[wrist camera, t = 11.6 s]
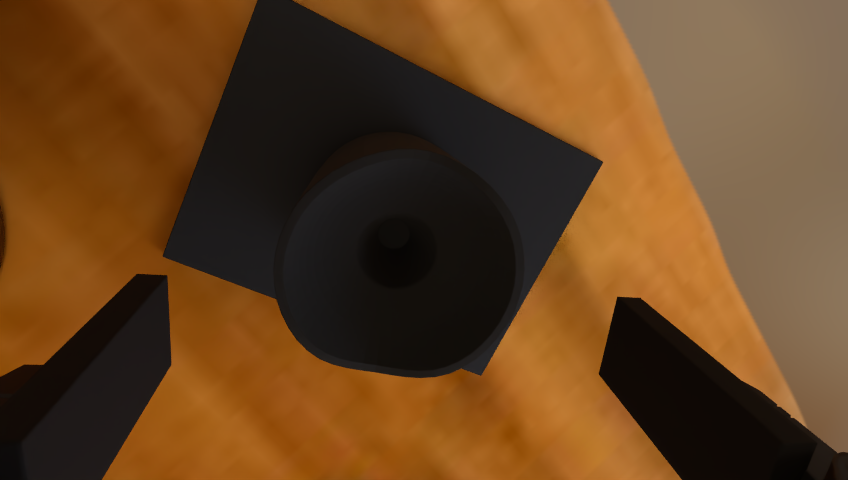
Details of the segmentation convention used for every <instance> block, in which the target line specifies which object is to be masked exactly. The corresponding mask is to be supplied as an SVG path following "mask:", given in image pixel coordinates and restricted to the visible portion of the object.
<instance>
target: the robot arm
mask: <svg viewBox="0 0 848 480" xmlns="http://www.w3.org/2000/svg"><path fill="white" fill-rule="evenodd" d="M4 242H5V241H4V223H3V215H2V211H1V207H0V267H1V263H2V258H3V252H4ZM170 366H171V344H170V323H169V302H168V280H167V275H148V274H136V275H135V276H134V277H133V278H132V279H131V280H130V281H129V282H128V283H127V284H126V285H125V286H124V287H123V288H122V289H121V290H120V291H119V292H118V293H117V294H116V295H115V296H114V297H113V298H112V299H111V300H110V301H109V302H108V303H107V304H106V305H105V306H104V307H103V308H102V309H100V310H99V311H98V312H97V313H96V314H95V315H94V316H93V317H92V318H91V319H90V320H89V321H88V322H87V323H86V324H85V325H84V326H83V327H82V328H81V329H80V330H79V331H78V332H77V333H76V334H75V335H74V336H73V337H72V338H71V339H70V340H69V341H68V342H67V343H66V344H65V345H64V346H62V347H61V348H60V349H59V350H58V351H57V352H56V353H55V354H54V355H53V356H52V357H51V358H50V359H49V360H48V361H47V362H46V363H45V364H44V365H23V366H21V367H19V368H17V369H15V370H13V371H11V372H9V373H7V374H5V375H3V376H1V377H0V480H102V478H103V477H104V475H105V473H106V472H107V470H108V468H109V467H110V465H111V463H112V462H113V460H114V458H115V457H116V455H117V454H118V452H119V450H120V449H121V447H122V445H123V444H124V442H125V440H126V439H127V437H128V435H129V434H130V432H131V430H132V429H133V427H134V425H135V424H136V422H137V420H138V419H139V417H140V415H141V414H142V412H143V411H144V409H145V407H146V406H147V404H148V402H149V401H150V399H151V397H152V396H153V394H154V392H155V391H156V389H157V387H158V386H159V384H160V382H161V381H162V379H163V377H164V376H165V374H166V372H167V371H168V369H169V367H170ZM599 375H600V376H601V378H602V379H603V380H604V381H605V383H606V384H607V385H608V386H609V388H610V389H611V390H612V392H613V393H614V394H615V395H616V397H617V398H618V399H619V400H620V402H621V403H622V404H623V405H624V407H625V408H626V409H627V411H628V412H629V413H630V414H631V416H632V417H633V418H634V419H635V421H636V422H637V423H638V424H639V426H640V427H641V428H642V429H643V431H644V432H645V433H646V435H647V436H648V437H649V438H650V440H651V441H652V442H653V443H654V445H655V446H656V447H657V448H658V450H659V451H660V452H661V454H662V455H663V456H664V457H665V459H666V460H667V461H668V462H669V464H670V465H671V466H672V467H673V469H674V470H675V471H676V473H677V474H678V475H679V476H680V478H681V479H682V480H848V453H846V452H841V453H837V452H836V451H834V450H833V449H832V448H831V447H829V446H828V445H827V444H826V443H824V442H823V441H822V440H821V439H819V438H818V437H817V436H815V435H814V434H813V433H812V432H811V431H809V430H808V429H807V428H806V427H804V426H803V425H802V424H801V423H799V422H798V421H797V420H796V419H795V418H791V417H790V416H791V415H790V414H788V413H787V412H786V411H785V410H783V409H782V408H781V407H777V404H776V403H775V402H773V401H772V400H771V399H770V398H768V397H767V396H766V395H765V394H763V393H762V392H761V391H759V390H758V389H756V388H754V387H752V386H750V385H749V384H747V383H745V382H743V381H741V380H740V379H739V378H737V377H736V376H735V375H734V374H733V373H731V372H730V371H729V370H728V369H726V368H725V367H724V366H723V365H722V364H720V363H719V362H718V361H717V360H715V359H714V358H713V357H712V356H711V355H709V354H708V353H707V352H706V351H704V350H703V349H702V348H701V347H700V346H698V345H697V344H696V343H695V342H693V341H692V340H691V339H690V338H689V337H687V336H686V335H685V334H684V333H682V332H681V331H680V330H679V329H678V328H676V327H675V326H674V325H673V324H671V323H670V322H669V321H668V320H667V319H665V318H664V317H663V316H662V315H660V314H659V313H658V312H657V311H655V310H654V309H653V308H652V307H651V306H649V305H648V304H647V303H646V302H644V301H643V300H642V299H641V298H630V297H617V300H616V305H615V309H614V313H613V317H612V321H611V325H610V330H609V334H608V338H607V342H606V346H605V351H604V355H603V359H602V363H601V367H600V371H599Z"/></svg>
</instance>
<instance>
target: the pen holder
mask: <svg viewBox="0 0 848 480" xmlns="http://www.w3.org/2000/svg"><path fill="white" fill-rule="evenodd" d="M524 273H525V256H524V249H523V243H522V238H521V235H520V232H519V229H518V226H517V224H516V221H515V219H514V217H513V215H512V213H511V211H510V210H509V208H508V207H507V205H506V204H505V202H504V201H503V199H502V198H501V197H500V196H499V194H498V193H497V192H496V191H495V190H494V189H493V188H492V187H491V185H489V184H488V183H487V182H486V181H485V180H484V179H482V178H481V177H480V176H479V175H478V174H477V173H475V172H474V171H472V170H471V169H469V168H468V167H467V166H465V165H464V164H462V163H461V162H459V161H458V160H457V159H455V158H454V157H452V156H451V155H449V154H448V153H446V152H445V151H443V150H442V149H440V148H439V147H437V146H436V145H434V144H432V143H430V142H428V141H426V140H424V139H422V138H420V137H417V136H414V135H411V134H406V133H401V132H376V133H372V134H367V135H364V136H361V137H358V138H356V139H354V140H352V141H350V142H348V143H346V144H345V145H343V146H342V147H340V148H339V149H338V150H336V151H335V152H334V153H333V154H332V155H331V156H330V157H329V158H328V159H327V160H326V161H325V163H324V164H323V165H322V166H321V168H320V169H319V170H318V171H317V173H316V174H315V176H314V177H313V179H312V180H311V182H310V183H309V185H308V186H307V188H306V189H305V191H304V192H303V194H302V196H301V197H300V199H299V200H298V202H297V203H296V205H295V206H294V208H293V210H292V211H291V213H290V215H289V216H288V218H287V220H286V222H285V224H284V226H283V229H282V231H281V234H280V236H279V239H278V243H277V247H276V251H275V257H274V267H273V274H274V288H275V293H276V298H277V302H278V305H279V308H280V311H281V314H282V316H283V318H284V320H285V322H286V324H287V326H288V328H289V329H290V331H291V332H292V334H293V335H294V336H295V338H296V339H297V341H298V342H299V343H300V344H301V345H302V346H303V347H304V348H305V349H306V350H307V351H309V352H310V353H312V354H313V355H315V356H316V357H317V358H319V359H321V360H323V361H326V362H328V363H331V364H333V365H337V366H341V367H345V368H350V369H356V370H363V371H370V372H377V373H383V374H389V375H395V376H402V377H414V378H427V377H437V376H441V375H445V374H449V373H452V372H454V371H456V370H458V369H461V368H463V367H465V366H466V365H468V364H469V363H471V362H473V361H474V360H476V359H477V358H478V357H479V356H480V355H482V354H483V353H484V352H485V351H486V350H488V349H489V347H490V346H491V345H492V344H493V343H494V342H495V341H496V340H497V339H498V338H499V336H500V335H501V333H502V332H503V331H504V329H505V328H506V327H507V325H508V323H509V321H510V319H511V318H512V316H513V314H514V312H515V309H516V307H517V304H518V302H519V299H520V295H521V291H522V287H523V281H524Z"/></svg>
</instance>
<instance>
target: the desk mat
mask: <svg viewBox="0 0 848 480" xmlns="http://www.w3.org/2000/svg"><path fill="white" fill-rule="evenodd" d="M376 132H401V133H406V134H411V135H414V136H417V137H420V138H422V139H424V140H426V141H428V142H430V143H432V144H434V145H436V146H437V147H439V148H440V149H442V150H443V151H445V152H446V153H448V154H449V155H451V156H452V157H454V158H455V159H457V160H458V161H459V162H461V163H462V164H464V165H465V166H467V167H468V168H469V169H471V170H472V171H474V172H475V173H477V174H478V175H479V176H480V177H481V178H482V179H484V180H485V181H486V182H487V183H488V184H489V185H491V187H492V188H493V189H494V190H495V191H496V192H497V193H498V194H499V196H500V197H501V198H502V199H503V201H504V202H505V204H506V205H507V207H508V208H509V210H510V211H511V213H512V215H513V217H514V219H515V221H516V224H517V226H518V229H519V232H520V235H521V238H522V243H523V249H524V256H525V273H524V281H523V287H522V291H521V295H520V299H519V302H518V304H517V307H516V309H515V312H514V314H513V316H512V318H511V319H510V321H509V323H508V325H507V327H506V328H505V329H504V331H503V332H502V333H501V335H500V336H499V338H498V339H497V340H496V341H495V342H494V343H493V344H492V345H491V346H490V347H489V349H488V350H486V351H485V352H484V353H483V354H482V355H480V356H479V357H478V358H477V359H476V360H474V361H473V362H471V363H469V364H468V365H466V366H465V367H463V368H462V369H464V370H467V371H470V372H472V373H475V374H478V375H482V373H483V371H484V370H485V368H486V366H487V364H488V363H489V361H490V359H491V357H492V356H493V354H494V352H495V350H496V349H497V347H498V345H499V343H500V342H501V340H502V338H503V336H504V335H505V333H506V331H507V329H508V328H509V326H510V324H511V323H512V321H513V319H514V317H515V316H516V314H517V312H518V310H519V309H520V307H521V305H522V303H523V302H524V300H525V298H526V296H527V295H528V293H529V291H530V289H531V288H532V286H533V284H534V282H535V281H536V279H537V277H538V275H539V274H540V272H541V270H542V268H543V267H544V265H545V263H546V261H547V260H548V258H549V256H550V254H551V253H552V251H553V249H554V247H555V246H556V244H557V242H558V240H559V239H560V237H561V235H562V233H563V232H564V230H565V228H566V226H567V225H568V223H569V221H570V219H571V218H572V216H573V214H574V212H575V211H576V209H577V207H578V205H579V204H580V202H581V200H582V198H583V197H584V195H585V193H586V191H587V190H588V188H589V186H590V184H591V183H592V181H593V179H594V177H595V176H596V174H597V172H598V170H599V169H600V167H601V165H602V163H603V162H602V161H601V160H599V159H597V158H595V157H593V156H591V155H589V154H587V153H585V152H583V151H581V150H579V149H577V148H576V147H574V146H572V145H570V144H568V143H566V142H564V141H562V140H560V139H558V138H556V137H554V136H552V135H550V134H549V133H547V132H545V131H543V130H541V129H539V128H537V127H535V126H533V125H531V124H529V123H527V122H525V121H523V120H522V119H520V118H518V117H516V116H514V115H512V114H510V113H508V112H506V111H504V110H502V109H500V108H498V107H496V106H495V105H493V104H491V103H489V102H487V101H485V100H483V99H481V98H479V97H477V96H475V95H473V94H471V93H469V92H468V91H466V90H464V89H462V88H460V87H458V86H456V85H454V84H452V83H450V82H448V81H446V80H444V79H442V78H441V77H439V76H437V75H435V74H433V73H431V72H429V71H427V70H425V69H423V68H421V67H419V66H417V65H415V64H414V63H412V62H410V61H408V60H406V59H404V58H402V57H400V56H398V55H396V54H394V53H392V52H390V51H388V50H387V49H385V48H383V47H381V46H379V45H377V44H375V43H373V42H371V41H369V40H367V39H365V38H363V37H361V36H360V35H358V34H356V33H354V32H352V31H350V30H348V29H346V28H344V27H342V26H340V25H338V24H336V23H334V22H333V21H331V20H329V19H327V18H325V17H323V16H321V15H319V14H317V13H315V12H313V11H311V10H309V9H307V8H306V7H304V6H302V5H300V4H298V3H296V2H294V1H292V0H258V1H257V4H256V6H255V9H254V12H253V14H252V17H251V20H250V22H249V25H248V28H247V30H246V33H245V36H244V39H243V41H242V44H241V47H240V49H239V52H238V55H237V57H236V60H235V63H234V65H233V68H232V71H231V73H230V76H229V79H228V82H227V84H226V87H225V90H224V92H223V95H222V98H221V100H220V103H219V106H218V108H217V111H216V114H215V116H214V119H213V122H212V125H211V127H210V130H209V133H208V135H207V138H206V141H205V143H204V146H203V149H202V151H201V154H200V157H199V159H198V162H197V165H196V168H195V170H194V173H193V176H192V178H191V181H190V184H189V186H188V189H187V192H186V194H185V197H184V200H183V202H182V205H181V208H180V211H179V213H178V216H177V219H176V221H175V224H174V227H173V229H172V232H171V235H170V237H169V240H168V243H167V245H166V248H165V251H164V254H163V257H165V258H168V259H171V260H173V261H176V262H179V263H181V264H184V265H187V266H189V267H192V268H195V269H197V270H200V271H203V272H205V273H208V274H211V275H213V276H216V277H219V278H221V279H224V280H227V281H229V282H232V283H235V284H237V285H240V286H243V287H245V288H248V289H251V290H253V291H256V292H259V293H261V294H264V295H267V296H269V297H272V298H275V299H277V298H276V293H275V288H274V274H273V267H274V257H275V251H276V247H277V243H278V239H279V236H280V234H281V231H282V229H283V226H284V224H285V222H286V220H287V218H288V216H289V215H290V213H291V211H292V210H293V208H294V206H295V205H296V203H297V202H298V200H299V199H300V197H301V196H302V194H303V192H304V191H305V189H306V188H307V186H308V185H309V183H310V182H311V180H312V179H313V177H314V176H315V174H316V173H317V171H318V170H319V169H320V168H321V166H322V165H323V164H324V163H325V161H326V160H327V159H328V158H329V157H330V156H331V155H332V154H333V153H334V152H335V151H336V150H338V149H339V148H340V147H342V146H343V145H345V144H346V143H348V142H350V141H352V140H354V139H356V138H358V137H361V136H364V135H367V134H372V133H376Z"/></svg>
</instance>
